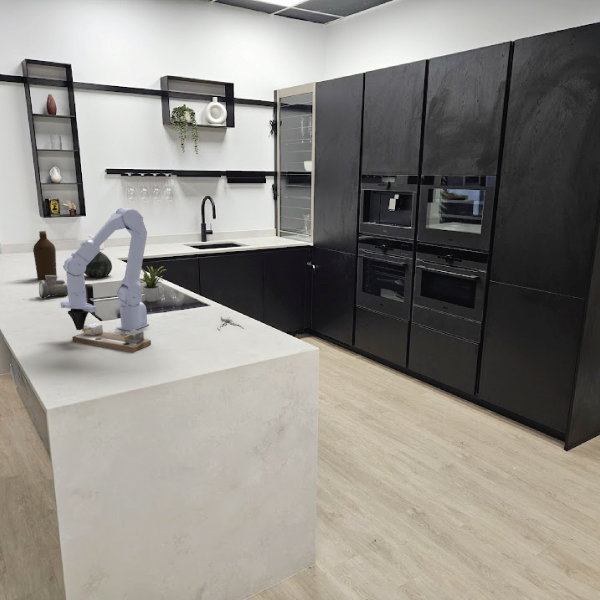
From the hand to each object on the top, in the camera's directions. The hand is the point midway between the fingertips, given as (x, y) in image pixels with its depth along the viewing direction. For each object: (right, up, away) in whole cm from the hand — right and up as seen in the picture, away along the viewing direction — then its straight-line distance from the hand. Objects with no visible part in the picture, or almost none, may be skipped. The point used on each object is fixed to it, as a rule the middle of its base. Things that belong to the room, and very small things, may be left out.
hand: (80, 329), depth 185 cm
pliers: (+50, +1, +18) cm, 53 cm away
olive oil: (-57, +22, +95) cm, 113 cm away
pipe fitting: (-35, +12, +56) cm, 68 cm away
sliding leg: (+5, -2, -3) cm, 6 cm away
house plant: (+12, +10, +53) cm, 55 cm away
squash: (-33, +23, +102) cm, 109 cm away
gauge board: (+13, -4, -6) cm, 15 cm away
